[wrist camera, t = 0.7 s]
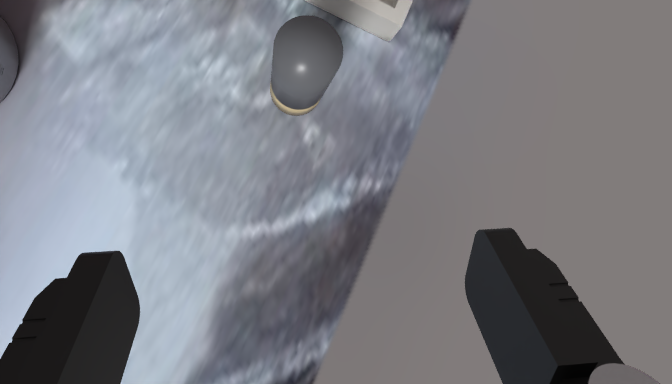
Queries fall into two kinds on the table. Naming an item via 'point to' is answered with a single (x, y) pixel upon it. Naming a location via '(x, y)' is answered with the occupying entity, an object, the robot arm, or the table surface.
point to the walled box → (369, 14)
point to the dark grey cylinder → (303, 63)
